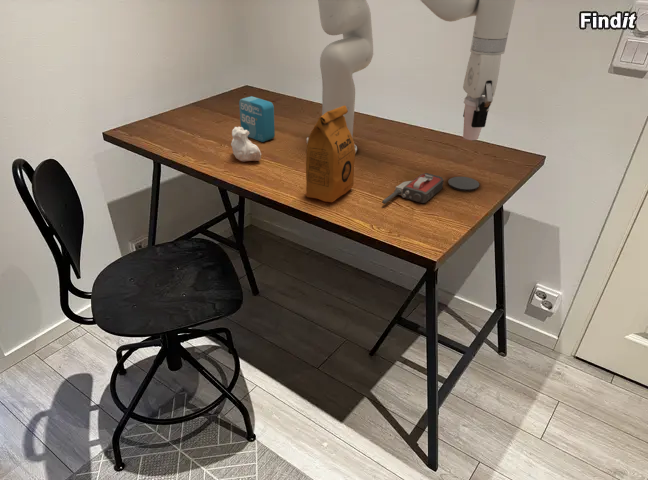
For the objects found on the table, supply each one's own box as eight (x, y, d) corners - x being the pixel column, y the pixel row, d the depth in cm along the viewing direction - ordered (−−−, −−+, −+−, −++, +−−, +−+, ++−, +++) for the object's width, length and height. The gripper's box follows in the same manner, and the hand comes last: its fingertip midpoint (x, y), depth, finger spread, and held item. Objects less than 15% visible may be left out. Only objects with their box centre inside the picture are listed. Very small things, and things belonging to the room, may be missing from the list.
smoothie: (485, 142, 128) (497, 84, 120) (458, 141, 129) (468, 83, 121) (482, 133, 133) (494, 77, 125) (456, 132, 134) (466, 76, 126)
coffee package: (359, 191, 136) (365, 107, 124) (331, 208, 129) (334, 120, 116) (329, 181, 142) (331, 100, 129) (300, 196, 134) (300, 112, 121)
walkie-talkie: (415, 179, 142) (379, 206, 129) (417, 163, 139) (380, 190, 126) (445, 187, 137) (411, 216, 124) (448, 171, 135) (413, 199, 122)
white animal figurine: (233, 160, 160) (212, 138, 151) (247, 141, 161) (227, 118, 152) (257, 172, 153) (237, 149, 144) (272, 151, 153) (253, 128, 144)
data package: (240, 134, 173) (238, 98, 166) (251, 131, 176) (249, 95, 169) (264, 143, 166) (263, 105, 159) (275, 139, 168) (274, 102, 162)
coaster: (452, 191, 135) (452, 189, 135) (444, 178, 142) (444, 176, 141) (482, 191, 135) (483, 189, 135) (473, 178, 142) (474, 176, 141)
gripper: (461, 38, 126) (449, 111, 136) (483, 53, 112) (468, 134, 122) (492, 37, 126) (478, 111, 136) (518, 53, 111) (500, 134, 122)
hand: (473, 121), depth 129 cm, fingers closed on smoothie, 6 cm apart
